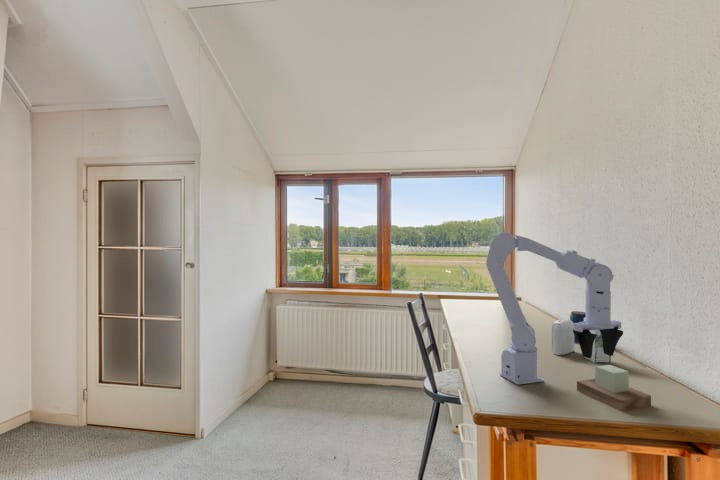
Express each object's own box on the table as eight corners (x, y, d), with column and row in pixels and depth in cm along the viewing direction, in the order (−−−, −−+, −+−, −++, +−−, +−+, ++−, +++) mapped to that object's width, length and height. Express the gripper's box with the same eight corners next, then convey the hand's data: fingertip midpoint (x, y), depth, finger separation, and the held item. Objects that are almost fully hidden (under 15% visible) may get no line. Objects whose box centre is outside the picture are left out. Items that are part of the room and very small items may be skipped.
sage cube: (614, 393, 87) (614, 373, 87) (595, 385, 91) (595, 366, 91) (628, 390, 88) (628, 371, 88) (609, 383, 93) (609, 364, 93)
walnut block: (621, 413, 82) (621, 400, 82) (576, 392, 94) (576, 381, 94) (651, 407, 85) (650, 395, 85) (604, 388, 97) (604, 377, 97)
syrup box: (598, 357, 121) (598, 316, 121) (611, 363, 115) (611, 320, 115) (583, 357, 121) (582, 316, 121) (595, 363, 115) (594, 320, 115)
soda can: (568, 342, 140) (568, 312, 140) (571, 338, 145) (571, 310, 145) (588, 345, 135) (588, 315, 135) (590, 341, 140) (590, 312, 141)
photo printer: (564, 348, 131) (564, 316, 131) (576, 351, 127) (576, 318, 128) (550, 353, 125) (549, 319, 126) (562, 356, 122) (562, 322, 122)
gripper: (590, 310, 89) (590, 363, 89) (632, 308, 92) (632, 358, 92) (567, 305, 96) (567, 354, 95) (607, 303, 99) (607, 350, 99)
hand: (597, 355), depth 94 cm, fingers open, 7 cm apart
